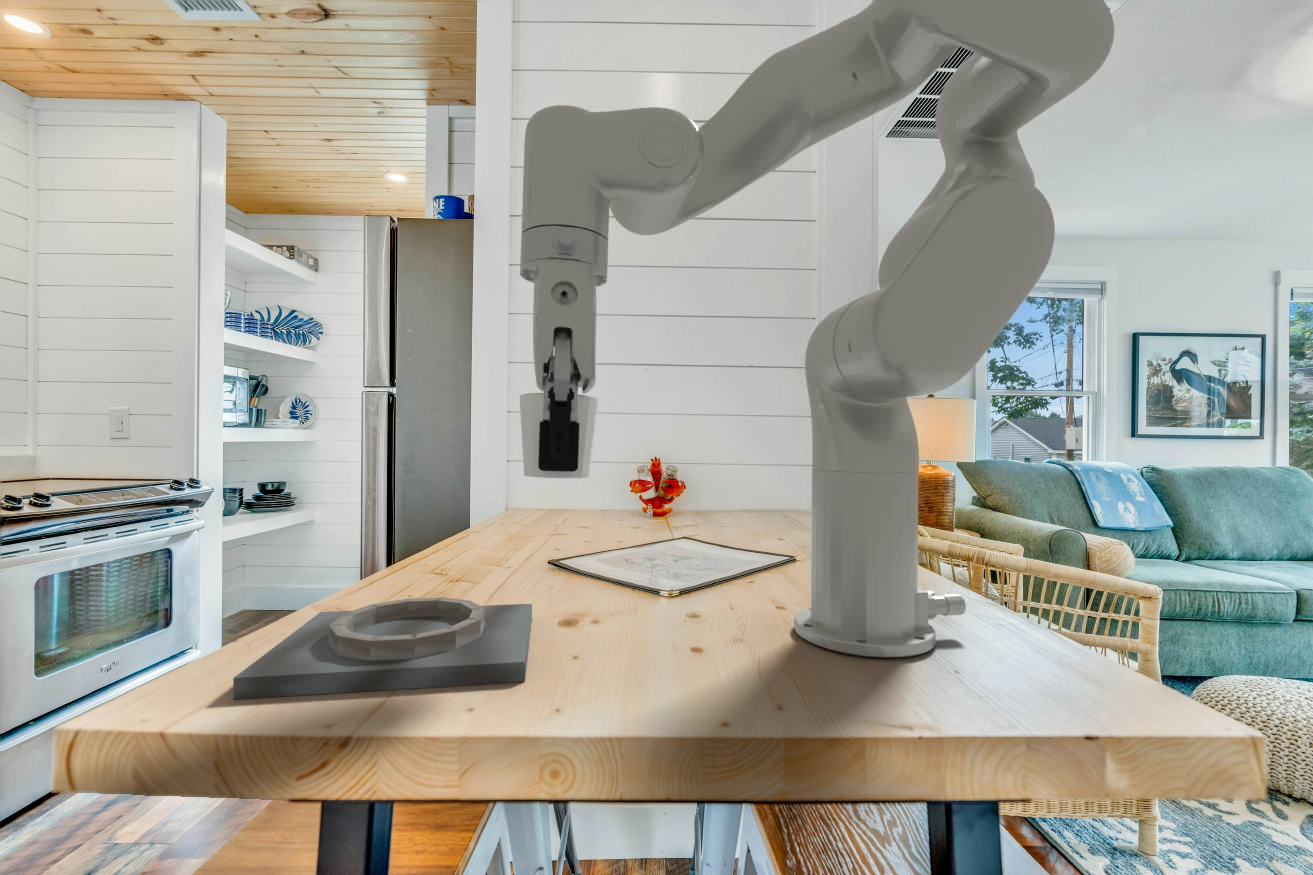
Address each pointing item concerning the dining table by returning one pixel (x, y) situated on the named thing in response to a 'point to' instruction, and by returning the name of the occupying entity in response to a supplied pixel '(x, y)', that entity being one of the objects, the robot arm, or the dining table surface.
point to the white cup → (534, 414)
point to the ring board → (395, 649)
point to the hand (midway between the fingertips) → (557, 466)
